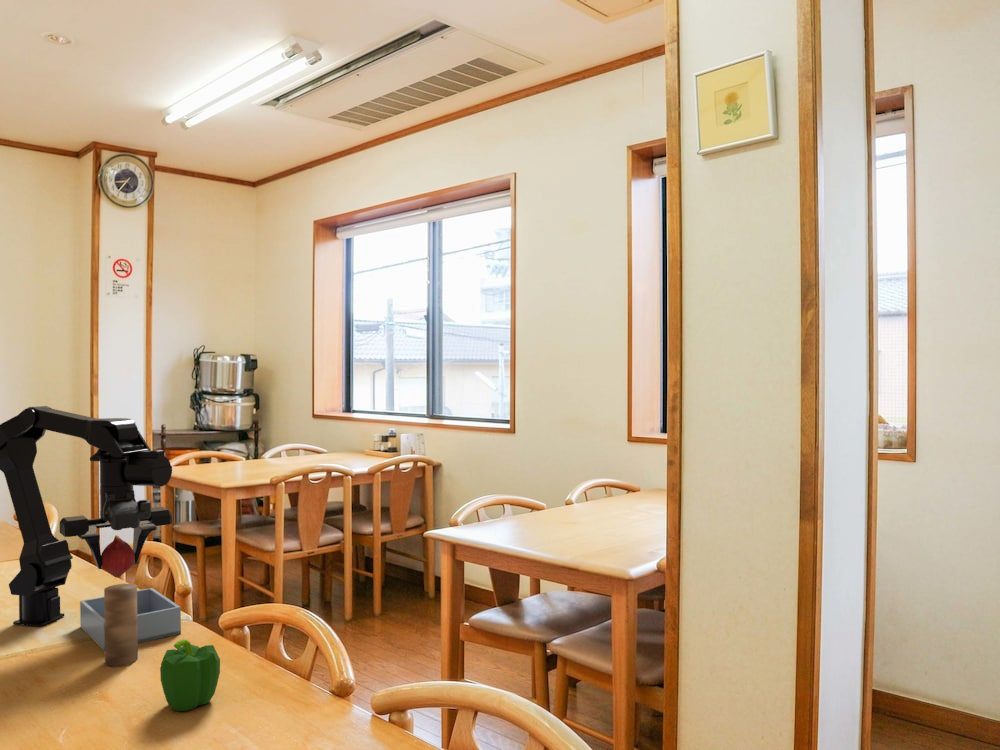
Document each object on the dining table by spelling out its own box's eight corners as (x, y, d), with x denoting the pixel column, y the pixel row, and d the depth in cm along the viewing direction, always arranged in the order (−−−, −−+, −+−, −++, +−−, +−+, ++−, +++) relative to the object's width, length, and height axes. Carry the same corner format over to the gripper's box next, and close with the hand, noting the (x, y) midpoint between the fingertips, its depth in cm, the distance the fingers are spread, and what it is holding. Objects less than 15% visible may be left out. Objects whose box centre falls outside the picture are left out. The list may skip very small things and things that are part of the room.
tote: (80, 626, 150) (80, 600, 150) (152, 612, 159) (152, 587, 159) (104, 650, 137) (103, 622, 137) (180, 633, 146) (180, 607, 146)
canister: (98, 665, 130) (97, 591, 130) (117, 654, 135) (117, 583, 135) (125, 667, 130) (124, 592, 130) (143, 656, 134) (143, 584, 134)
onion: (141, 574, 151) (141, 533, 151) (120, 582, 146) (120, 539, 146) (115, 572, 153) (115, 531, 153) (93, 580, 147) (93, 537, 147)
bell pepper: (201, 687, 121) (200, 623, 121) (230, 701, 116) (229, 634, 116) (147, 706, 115) (146, 638, 114) (176, 722, 109) (175, 651, 109)
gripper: (69, 495, 137) (70, 583, 137) (180, 484, 149) (180, 566, 149) (58, 487, 146) (59, 571, 146) (163, 478, 157) (164, 555, 158)
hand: (117, 566), depth 149 cm, fingers closed on onion, 6 cm apart
